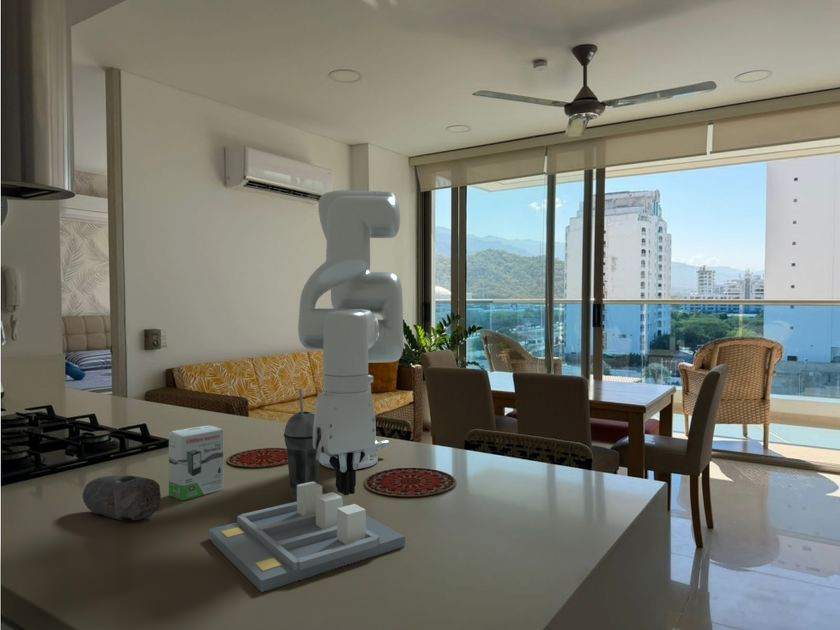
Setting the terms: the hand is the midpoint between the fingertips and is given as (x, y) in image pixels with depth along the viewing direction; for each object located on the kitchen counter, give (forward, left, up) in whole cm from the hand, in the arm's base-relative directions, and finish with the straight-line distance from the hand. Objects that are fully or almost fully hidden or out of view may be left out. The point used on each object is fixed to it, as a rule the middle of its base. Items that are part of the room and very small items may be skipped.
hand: (345, 492), depth 98 cm
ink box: (+17, -26, -4) cm, 31 cm away
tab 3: (+7, +13, -2) cm, 15 cm away
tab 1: (+7, 0, -2) cm, 7 cm away
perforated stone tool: (+31, -22, -4) cm, 38 cm away
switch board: (+11, +6, -4) cm, 13 cm away
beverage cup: (+2, -12, -4) cm, 13 cm away
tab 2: (+7, +6, -2) cm, 10 cm away
